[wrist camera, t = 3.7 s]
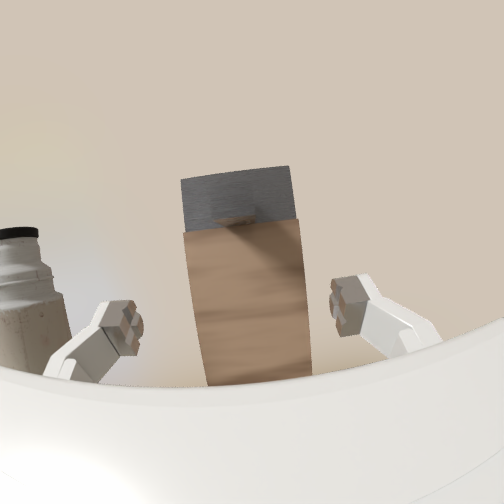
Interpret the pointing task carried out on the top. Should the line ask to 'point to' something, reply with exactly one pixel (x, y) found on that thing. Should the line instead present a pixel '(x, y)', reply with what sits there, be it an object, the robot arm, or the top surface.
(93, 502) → the robot arm
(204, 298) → the pedestal
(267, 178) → the brushed metal plate
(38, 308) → the thermos bottle
